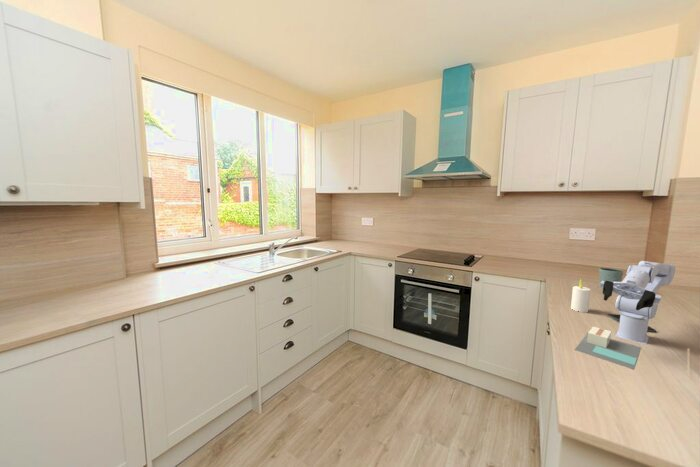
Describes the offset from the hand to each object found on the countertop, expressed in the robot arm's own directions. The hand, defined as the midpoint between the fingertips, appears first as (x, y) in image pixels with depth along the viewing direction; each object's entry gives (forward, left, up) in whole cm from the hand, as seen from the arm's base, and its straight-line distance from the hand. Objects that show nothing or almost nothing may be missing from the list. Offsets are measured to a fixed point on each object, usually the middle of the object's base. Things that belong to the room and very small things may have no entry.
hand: (620, 302), depth 88 cm
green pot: (-93, -14, -18) cm, 96 cm away
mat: (-2, -2, -18) cm, 18 cm away
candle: (-40, -17, -18) cm, 47 cm away
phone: (-38, 0, -19) cm, 42 cm away
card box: (-6, -5, -17) cm, 19 cm away
